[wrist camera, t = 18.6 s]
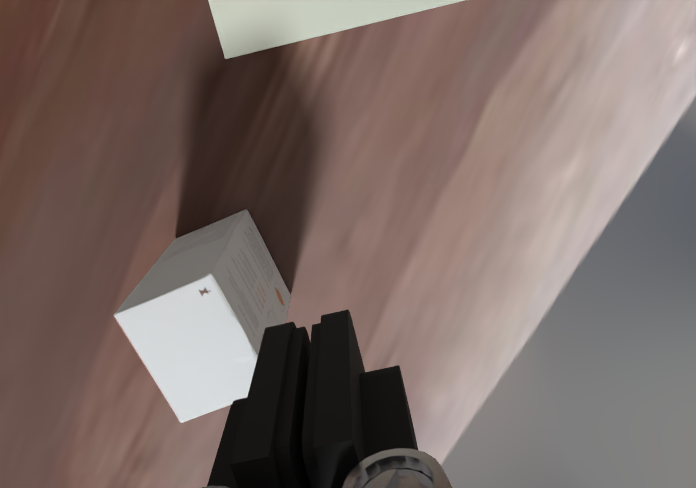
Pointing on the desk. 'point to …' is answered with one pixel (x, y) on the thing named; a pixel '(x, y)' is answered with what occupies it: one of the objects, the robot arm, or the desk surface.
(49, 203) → the desk surface
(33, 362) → the desk surface
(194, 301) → the small box
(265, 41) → the mat
